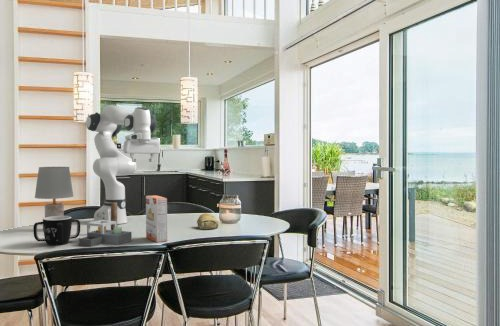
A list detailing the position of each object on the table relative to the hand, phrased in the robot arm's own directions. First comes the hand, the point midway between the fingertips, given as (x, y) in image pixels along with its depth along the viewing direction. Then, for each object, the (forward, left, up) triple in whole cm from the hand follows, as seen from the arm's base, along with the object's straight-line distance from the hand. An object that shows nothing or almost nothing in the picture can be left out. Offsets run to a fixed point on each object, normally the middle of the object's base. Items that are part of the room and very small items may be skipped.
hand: (142, 162), depth 234 cm
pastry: (+31, +18, -37) cm, 51 cm away
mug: (-12, -47, -37) cm, 61 cm away
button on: (+10, -32, -35) cm, 48 cm away
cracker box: (+24, -21, -37) cm, 49 cm away
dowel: (-5, -17, -37) cm, 41 cm away
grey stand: (+5, -32, -37) cm, 49 cm away
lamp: (-41, -22, -37) cm, 59 cm away
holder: (+3, -42, -37) cm, 56 cm away
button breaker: (0, -32, -35) cm, 47 cm away
